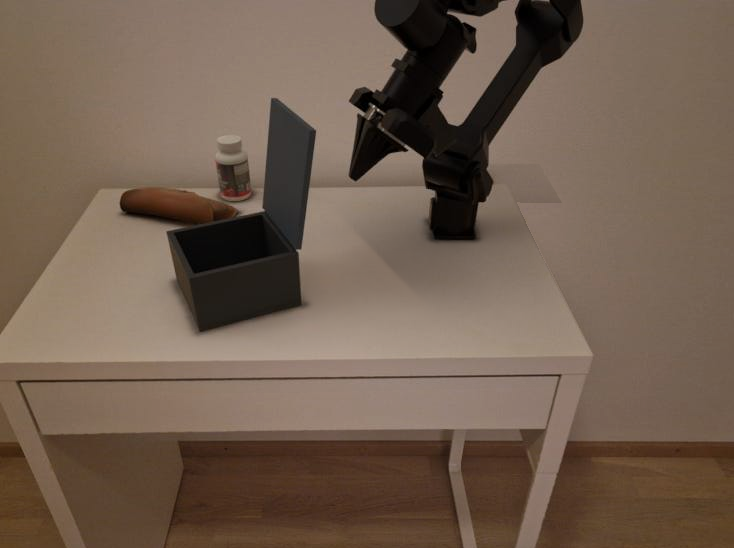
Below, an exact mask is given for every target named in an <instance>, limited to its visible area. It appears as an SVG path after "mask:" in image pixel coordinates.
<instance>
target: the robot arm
mask: <svg viewBox="0 0 734 548" xmlns="http://www.w3.org/2000/svg"><path fill="white" fill-rule="evenodd" d="M505 1H507V0H375V1H374V7H373V8H374V9H373V11H374V16H375V18H376V20H377V22H378V23H379V24H380V25H381V26H382V27H383V28H384V29H385V30H386V31H387V32H388V33H389V34H390V35H391V36H392V37H393V38H394V39H395V40H396V41H397V42H398V43H399V44H400V45H401V46H402V47H404V49H406V51H405V53H404V54H403V55H402V58H401V59H399V58H395V59H394V60H393V62H392V63H391V65H390V66H391V68H393V72H392V73H391V75H390V76H389V77H388V80H387V81H386V82H385V84H384V86H383V88H382V89H381V90H379V89H377V88H375V90H374V91H373V90H371V89H370V88H368V87H366V86H363V87H358V88H355V90H354V91H353V93H352V95H351V96H350V98H349V100H348V103H350V104H351V105H353V106H354V107H355V108H357V109H358V110H360V111H361V112H362V113H364V114H363V115H362V114H361V113H359V112H357V114H356V118H357V119H356V127H355V133H354V141H353V147H352V152H351V158H350V165H349V169H348V178H349V179H351V180H352V181H354V182H357V181H359V180H360V179H361V178H362V177H363V176H365V175H366V174H367V173H368V172H370V171H371V169H373V168H374V167H375V166H376V165H378V163H379V162H381V161H382V160H383V159H385V158H386V157H388V155H390V154H395V153H407V152H409V149H408V148H410V149H411V150H412V151H414V152H415V153H417V154H418V155H420V156H421V157H422V163H421V168H422V175H423V181H424V187H425V189H426V190H431V191H432V192H433V191H434V197H431V198H430V200H429V201H430V202H429V209H428V221H427V222H428V227H429V230H431V233H432V237H433V239H436V240H437V239H439V240H442V239H446V240H449V239H450V240H474V239H477V233H476V229H475V228H476V221H477V216H478V209H479V204H480V203H485V202H487V197H489V196H490V195H491V192H492V188H493V185H494V179H493V178H492V176H491V174H490V173H489V171H488V170H487V169H488V167H489V163H490V160H489V159H490V145H491V143H492V142H493V140H494V139H495V137H496V136H497V134H498V133H499V132H500V130H501V128H502V127H503V126H504V124H505V123H506V121H507V119H508V118H509V116H510V115H511V114H512V112H513V111H514V109H515V108H516V106H517V105H518V104H519V102H520V100H521V99H522V97H524V94H525V93H526V91H527V90H528V88H530V86H531V84H532V83H533V81H534V80H535V78H536V77H537V76H538V74H539V73H540V71H541V70H542V68H544V67H547V66H548V65H550V64H552V63H554V62H556V61H558V60H560V59H562V57H563V56H564V55H565V54H566V53H567V52H568V51H569V50H570V48H572V46H573V45H574V43H575V42H576V41H577V40H579V37H580V36H581V33H582V30H583V26H584V12H583V5H582V0H518V1H517V5H516V7H515V9H514V16H515V20H516V26H515V45H514V47H513V49H512V50H511V52H510V53H509V55H508V56H507V58H506V59H505V60H504V62H503V64H502V65H501V66H500V68H499V70H498V71H497V73H496V74H495V75H494V77H493V78H492V79H491V81H490V83H489V84H488V86H487V87H485V89H484V91H483V93H482V94H481V96H480V97H479V98H478V100H477V101H476V103H475V104H474V106H473V107H472V109H471V110H470V112H469V113H468V115H467V116H466V117H465V119H464V120H463V122H462V123H461V124H459V125H454V124H451V123H449V121H448V120H447V118H446V116H445V115H444V113H443V112H442V110H441V108H440V106H439V105H440V103H441V101H442V100H443V98H444V95H443V94H444V91H443V90H442V89H441V87H442V85H443V83H445V82H444V81H446V79H447V78H448V76H449V74H450V73H451V71H452V70H453V68H454V67H455V66H456V64H457V63H458V61H459V60H460V58H461V57H462V55H463V53H464V52H465V51H467V52H468V53H470V54H472V55H474V54H476V52H477V48H478V47H477V46H478V43H477V38H476V37H477V28H476V27H475V26H474V25H471V24H469V23H468V22H465V21H463V22H462V21H461V19H459V17H457V16H456V15H454V14H457V15H458V14H459V15H463V16H464V15H465V16H471V17H477V18H482V17H484V16H486V15H488V14H490V13H492V12H494V11H496V10H497V9H498V8H499V4H500V3H502V2H505ZM452 13H453V14H452ZM406 146H407V147H408V148H407V147H406Z"/></svg>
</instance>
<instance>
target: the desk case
mask: <svg viewBox="0 0 734 548" xmlns="http://www.w3.org/2000/svg"><path fill="white" fill-rule="evenodd" d="M165 233H166V237H167V241H168V245H169V246H168V247H169V250H170V255H171V259H172V264H173V269H174V273H175V274H174V275H175V279H176V283H177V284H178V287H179V289H180V291H181V294H182V296H183V298H184V300H185V303H186V305H187V307H188V309H189V311H190V313H191V316H192V318H193V321H194V323H195V325H196V327H197V330H198V331H199V332H200V333H201V332H205V331H209V330H213V329H216V328H221V327H225V326H227V325H228V326H229V325H232V324H236V323H239V322H244V321H248V320H251V319H254V318H260V317H263V316H266V315H270V314H275V313H278V312H281V311H285V310H289V309H293V308H297V307H300V306H301V307H302V305H303V303H302V302H303V301H302V287H301V270H300V254H299V251H298V250H295V248H294V247H293V246H292V244H291V243H290V242H289V241H288V239H287V238H286V237H285V236H284V234H283V233H282V232H281V231H280V229H279V228H278V227H277V225H276V224H275V223H274V222H273V220H272V219H271V218H270V217H269V215H268V214H267V213H266V212H265V210H263V211H257V212H254V213H249V214H243V215H239V216H234V217H233V218H228V219H224V220H219V221H214V222H209V223H204V224H194V225H189V226H184V227H180V228H176V229H171V230H167V231H165Z"/></svg>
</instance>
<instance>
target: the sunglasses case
mask: <svg viewBox="0 0 734 548" xmlns="http://www.w3.org/2000/svg"><path fill="white" fill-rule="evenodd" d="M119 208H120V210H121V212H123V213H131V214H132V213H134V214H135V213H136V214H145V215H154V216H157V217H162V218H167V219H171V220H172V219H174V220H179V221H182V222H186V223H193V224H196V225H199V224H204V223H209V222H214V221H219V220H224V219H228V218H233V217H236V216H237V214H239V209H238V208H236V207H234V206H233V205H231V204H228V203H225V202H223V201H219V200H216V199H212V198H209V197H205V196H201V195H198V193H196V192H195V191H187V189H178V188H167V187H156V186H155V187H139V188H133V189H128V190H126V191H124V192H123V193H122V194H121V196H120V198H119Z"/></svg>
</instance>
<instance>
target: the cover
mask: <svg viewBox="0 0 734 548" xmlns="http://www.w3.org/2000/svg"><path fill="white" fill-rule="evenodd" d="M316 136H317V129H315V128H314V127H313V126H311V124H309V123H308V122H307V121H306V120H304V119H303V118H302V117H301V116H299V115H298V114H297V113H296V112H295V111H293V110H292V109H291V108H290V107H289V106H288V105H286V104H285V103H283V102H282V101H281V100H280V99H279V98H277V97H271V98H270V108H269V121H268V131H267V146H266V159H265V171H264V183H263V197H262V209H263V211H265V212H266V213H267V214H268V215H269V217H270V218H271V219H272V220H273V222H274V223H275V224H276V225H277V227H278V228H279V229H280V231H281V232H282V233H283V234H284V236H285V237H286V238H287V239H288V241H289V242H290V243H291V244H292V246H293V247H294V248H295V250H296V251H298V250H299V251H300V250H302V248H303V242H304V241H303V240H304V232H305V226H306V225H305V224H306V217H307V208H308V199H309V193H310V183H311V176H312V169H313V160H314V154H315V145H316Z"/></svg>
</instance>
